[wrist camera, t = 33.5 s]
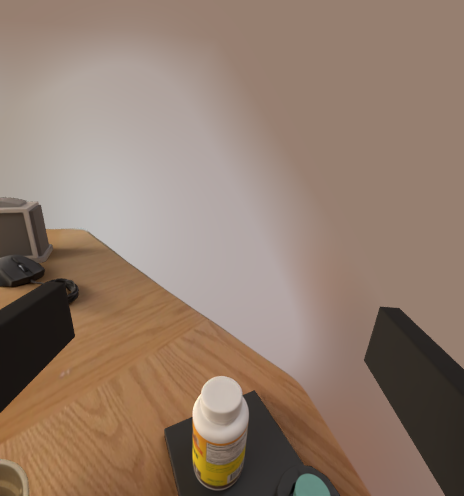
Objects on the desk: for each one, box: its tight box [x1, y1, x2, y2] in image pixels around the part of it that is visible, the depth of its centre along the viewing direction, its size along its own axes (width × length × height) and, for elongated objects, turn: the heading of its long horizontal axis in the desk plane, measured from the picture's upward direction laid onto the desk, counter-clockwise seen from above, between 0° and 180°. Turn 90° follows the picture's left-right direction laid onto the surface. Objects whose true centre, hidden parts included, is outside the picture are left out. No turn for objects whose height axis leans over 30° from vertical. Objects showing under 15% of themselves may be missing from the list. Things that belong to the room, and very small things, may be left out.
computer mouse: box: [0, 255, 79, 303], centre depth 61 cm, size 10×32×6 cm, turn 64°
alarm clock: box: [0, 197, 53, 263], centre depth 74 cm, size 18×13×18 cm
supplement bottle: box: [193, 376, 249, 490], centre depth 25 cm, size 6×6×10 cm
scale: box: [164, 390, 340, 496], centre depth 26 cm, size 17×14×3 cm
